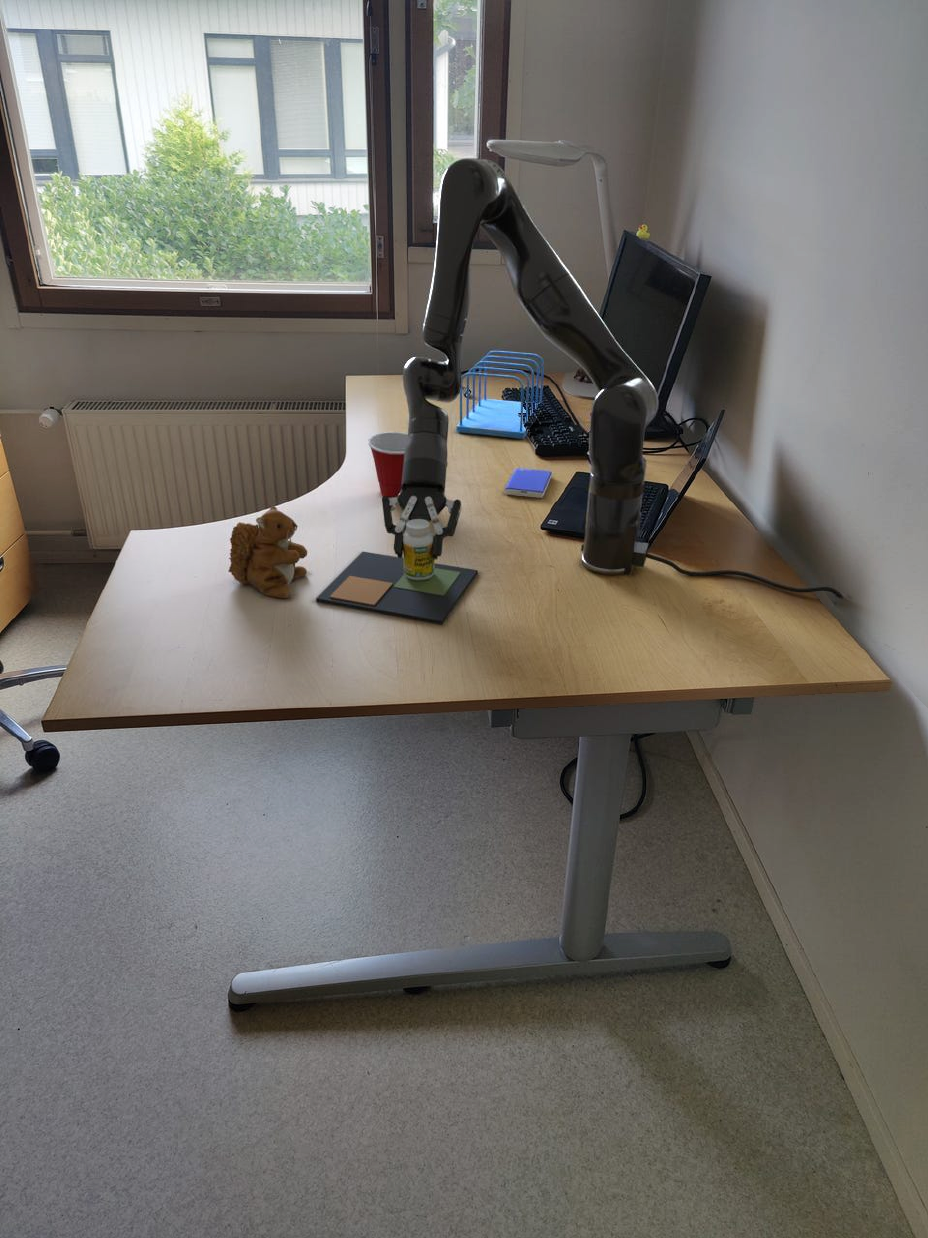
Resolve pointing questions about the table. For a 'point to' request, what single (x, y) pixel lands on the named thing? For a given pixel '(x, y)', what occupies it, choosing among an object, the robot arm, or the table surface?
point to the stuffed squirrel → (267, 554)
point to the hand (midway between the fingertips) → (417, 556)
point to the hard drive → (528, 482)
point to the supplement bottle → (418, 550)
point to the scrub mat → (397, 588)
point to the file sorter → (499, 401)
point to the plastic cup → (389, 460)
